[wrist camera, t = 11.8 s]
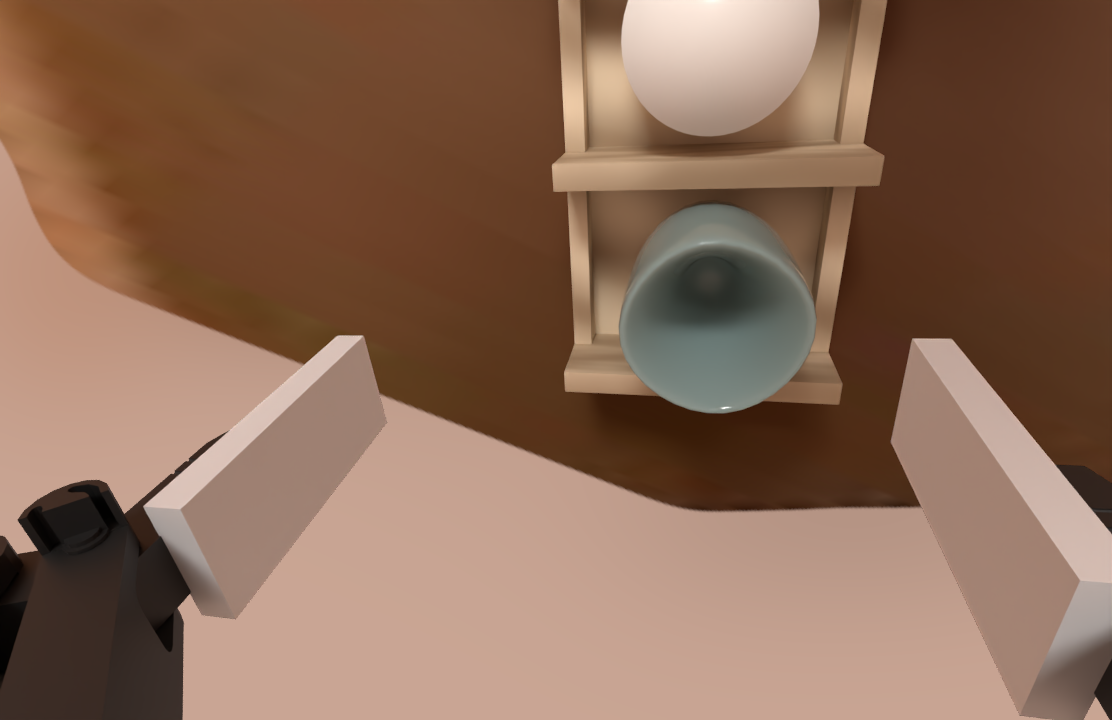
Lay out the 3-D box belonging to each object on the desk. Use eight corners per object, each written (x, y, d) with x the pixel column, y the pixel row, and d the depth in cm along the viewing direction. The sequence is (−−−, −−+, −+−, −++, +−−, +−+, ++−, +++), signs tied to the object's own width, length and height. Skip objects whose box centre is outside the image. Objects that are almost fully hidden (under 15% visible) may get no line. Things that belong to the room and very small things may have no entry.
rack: (563, -100, 28) (534, -134, 23) (892, -138, 25) (948, -186, 20) (582, 342, 38) (565, 391, 33) (816, 349, 36) (838, 404, 30)
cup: (719, 346, 35) (728, 445, 27) (610, 273, 35) (583, 350, 26) (815, 240, 32) (862, 315, 23) (695, 155, 31) (696, 199, 22)
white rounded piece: (631, -54, 27) (620, -71, 23) (809, -71, 26) (833, -93, 21) (631, 125, 31) (622, 139, 26) (788, 119, 29) (805, 133, 25)
